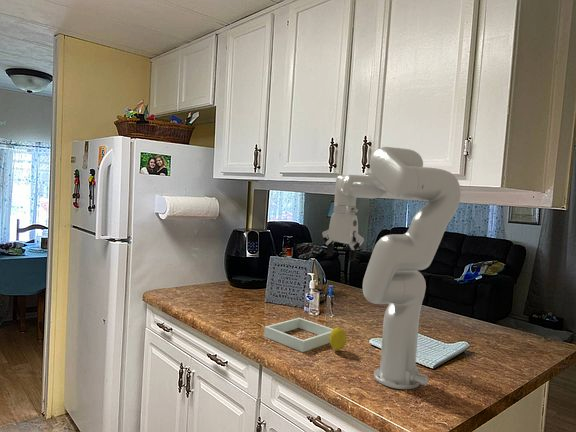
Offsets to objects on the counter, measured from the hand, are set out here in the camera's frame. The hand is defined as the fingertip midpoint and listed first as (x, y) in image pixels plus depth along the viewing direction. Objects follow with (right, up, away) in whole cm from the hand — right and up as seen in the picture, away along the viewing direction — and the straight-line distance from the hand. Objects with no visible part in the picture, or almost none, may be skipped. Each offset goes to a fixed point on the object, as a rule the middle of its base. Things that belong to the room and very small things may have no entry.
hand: (340, 258), depth 152 cm
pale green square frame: (-14, -28, -3) cm, 31 cm away
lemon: (-3, -29, -13) cm, 32 cm away
